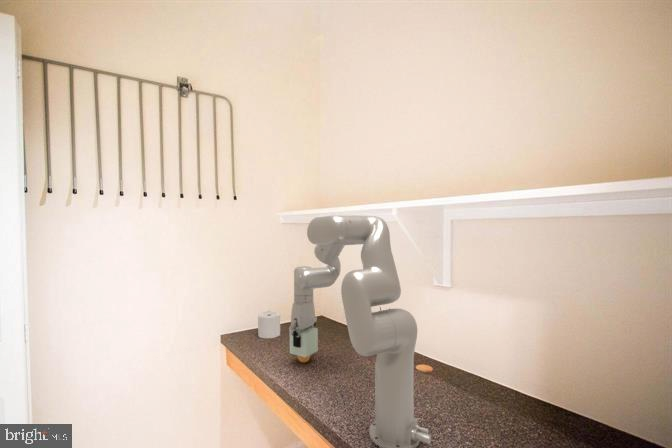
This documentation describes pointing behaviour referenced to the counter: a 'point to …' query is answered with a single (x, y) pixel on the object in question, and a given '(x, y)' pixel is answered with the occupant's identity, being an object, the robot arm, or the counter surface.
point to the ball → (303, 358)
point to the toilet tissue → (269, 324)
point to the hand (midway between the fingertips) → (303, 343)
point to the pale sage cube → (305, 342)
